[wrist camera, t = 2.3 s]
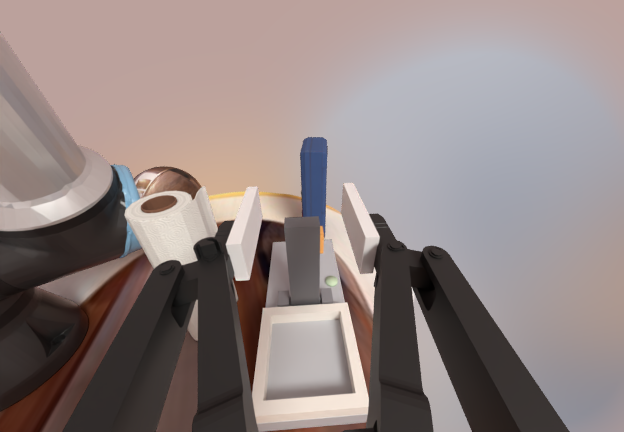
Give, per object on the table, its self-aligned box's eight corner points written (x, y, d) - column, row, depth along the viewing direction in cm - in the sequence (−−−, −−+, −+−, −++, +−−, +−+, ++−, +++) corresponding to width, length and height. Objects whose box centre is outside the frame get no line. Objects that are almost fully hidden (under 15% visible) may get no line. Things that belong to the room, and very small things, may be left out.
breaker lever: (322, 307, 34) (324, 226, 26) (289, 309, 34) (281, 228, 25) (320, 296, 36) (322, 216, 27) (290, 298, 35) (282, 217, 27)
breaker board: (365, 422, 25) (371, 407, 23) (255, 432, 25) (248, 417, 22) (331, 248, 49) (331, 231, 46) (274, 251, 48) (272, 234, 46)
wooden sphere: (129, 250, 49) (91, 186, 41) (162, 212, 62) (137, 157, 53) (201, 246, 50) (177, 183, 42) (219, 209, 62) (204, 155, 54)
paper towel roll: (188, 349, 32) (112, 224, 20) (192, 312, 37) (132, 193, 25) (241, 332, 34) (201, 209, 22) (238, 299, 39) (204, 183, 27)
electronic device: (305, 216, 59) (302, 137, 48) (325, 216, 59) (327, 137, 48) (302, 239, 51) (298, 151, 40) (325, 240, 51) (327, 151, 40)
